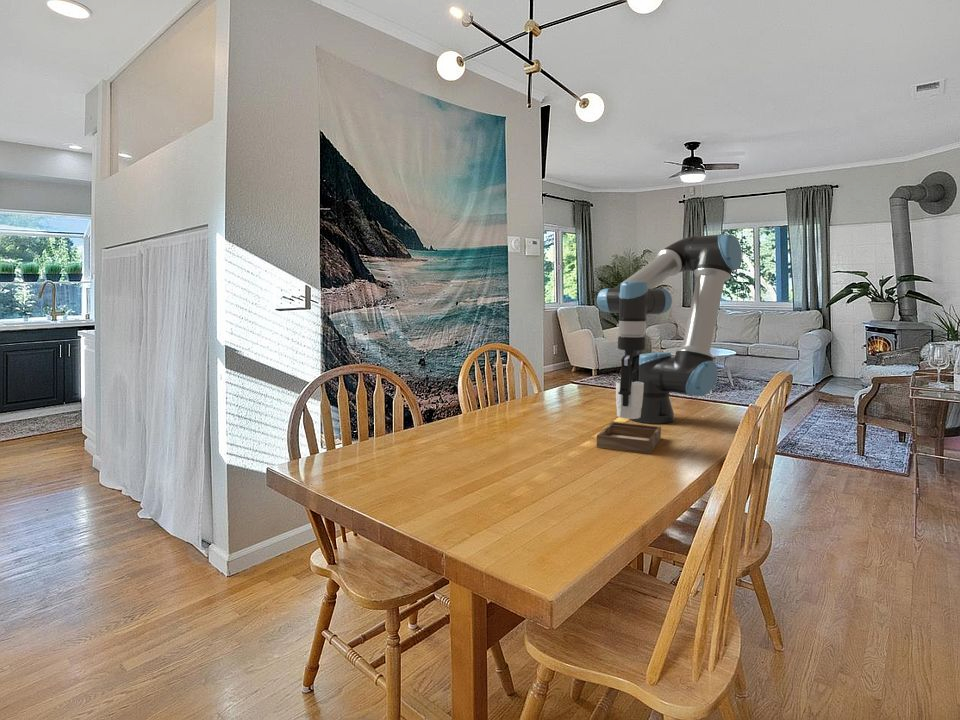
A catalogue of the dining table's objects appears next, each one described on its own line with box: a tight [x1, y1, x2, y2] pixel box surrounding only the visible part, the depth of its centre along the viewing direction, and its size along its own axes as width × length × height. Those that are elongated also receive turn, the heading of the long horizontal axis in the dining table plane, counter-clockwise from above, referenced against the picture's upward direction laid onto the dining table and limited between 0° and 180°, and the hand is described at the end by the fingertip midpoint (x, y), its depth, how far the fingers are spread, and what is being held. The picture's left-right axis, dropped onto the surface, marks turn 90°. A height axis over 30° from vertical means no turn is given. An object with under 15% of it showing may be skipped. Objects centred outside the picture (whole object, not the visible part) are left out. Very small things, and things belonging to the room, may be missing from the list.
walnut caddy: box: [596, 421, 662, 455], centre depth 167 cm, size 18×15×4 cm
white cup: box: [615, 380, 644, 420], centre depth 164 cm, size 8×8×10 cm
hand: (628, 414), depth 164 cm, fingers closed on white cup, 8 cm apart
